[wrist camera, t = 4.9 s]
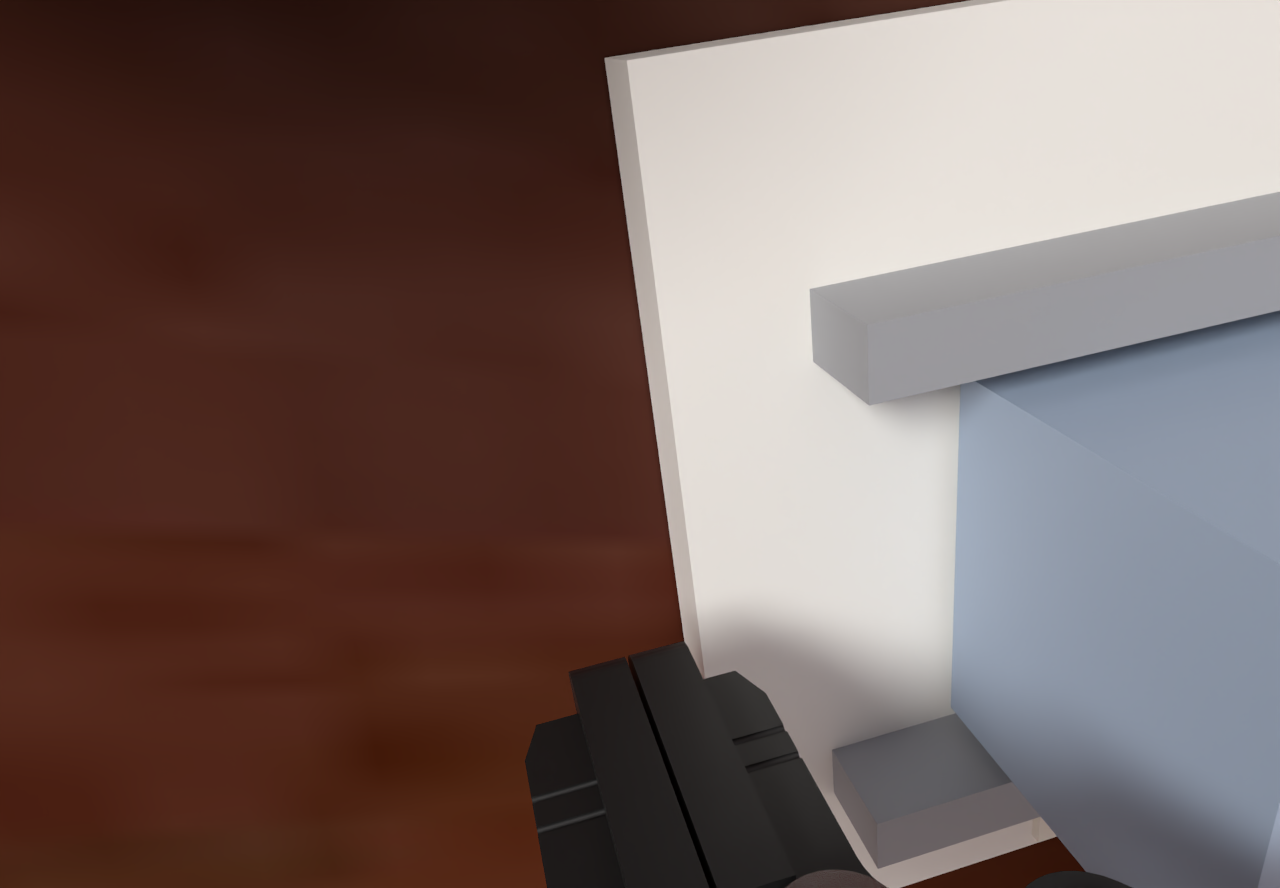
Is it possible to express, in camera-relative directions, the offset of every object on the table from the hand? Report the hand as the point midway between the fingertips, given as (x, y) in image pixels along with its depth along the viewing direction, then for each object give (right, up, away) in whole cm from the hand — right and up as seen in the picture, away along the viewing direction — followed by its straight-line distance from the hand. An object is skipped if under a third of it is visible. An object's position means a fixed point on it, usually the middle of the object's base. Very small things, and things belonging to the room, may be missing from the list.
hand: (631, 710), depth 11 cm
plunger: (+10, +1, +4) cm, 11 cm away
